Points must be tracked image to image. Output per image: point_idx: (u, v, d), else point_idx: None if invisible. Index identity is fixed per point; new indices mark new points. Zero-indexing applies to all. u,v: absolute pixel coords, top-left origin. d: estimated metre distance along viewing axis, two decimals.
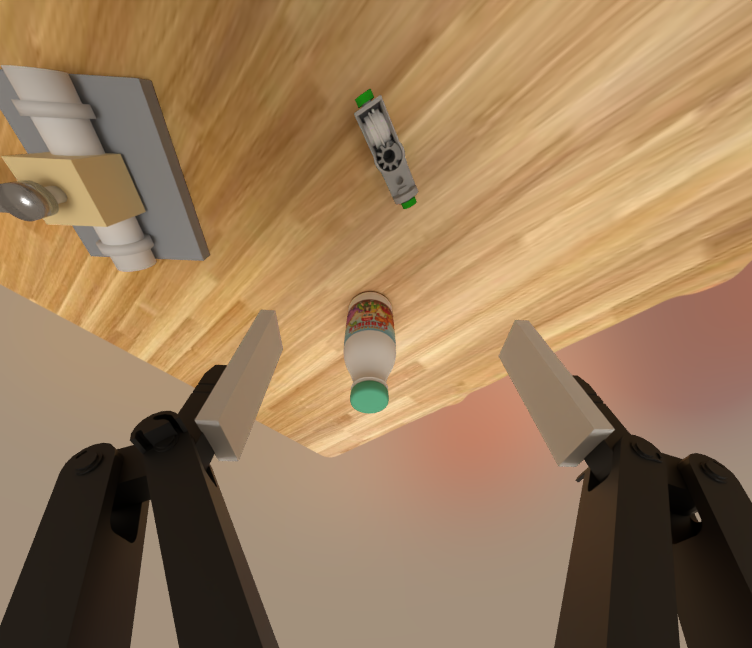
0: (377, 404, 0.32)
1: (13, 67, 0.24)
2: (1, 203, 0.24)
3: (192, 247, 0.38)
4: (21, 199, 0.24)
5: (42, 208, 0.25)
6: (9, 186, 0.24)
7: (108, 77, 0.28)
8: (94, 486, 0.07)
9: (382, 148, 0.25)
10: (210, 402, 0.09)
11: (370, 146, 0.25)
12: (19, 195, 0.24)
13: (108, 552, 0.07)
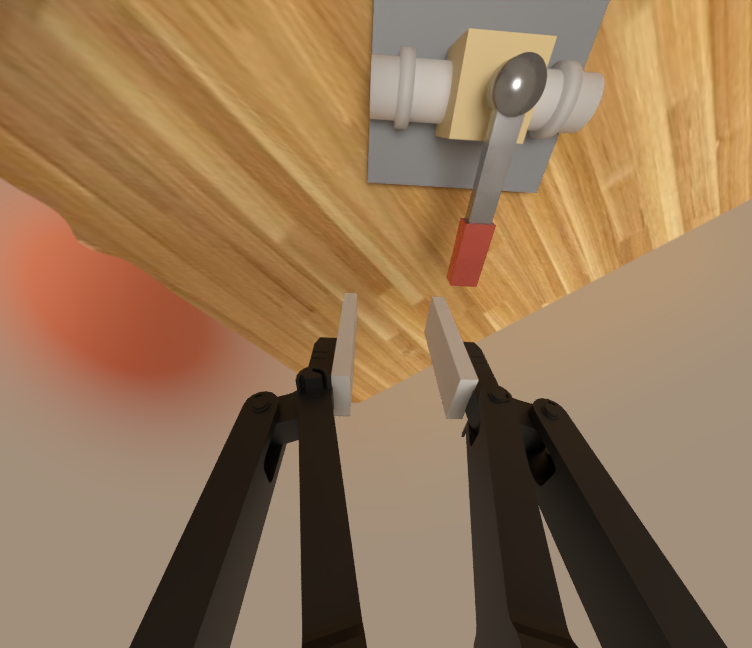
0: None
1: (372, 84, 0.22)
2: (514, 113, 0.19)
3: None
4: (520, 70, 0.17)
5: None
6: (502, 77, 0.17)
7: (374, 14, 0.23)
8: (261, 426, 0.09)
9: None
10: (337, 363, 0.11)
11: None
12: (515, 69, 0.17)
13: (258, 485, 0.08)
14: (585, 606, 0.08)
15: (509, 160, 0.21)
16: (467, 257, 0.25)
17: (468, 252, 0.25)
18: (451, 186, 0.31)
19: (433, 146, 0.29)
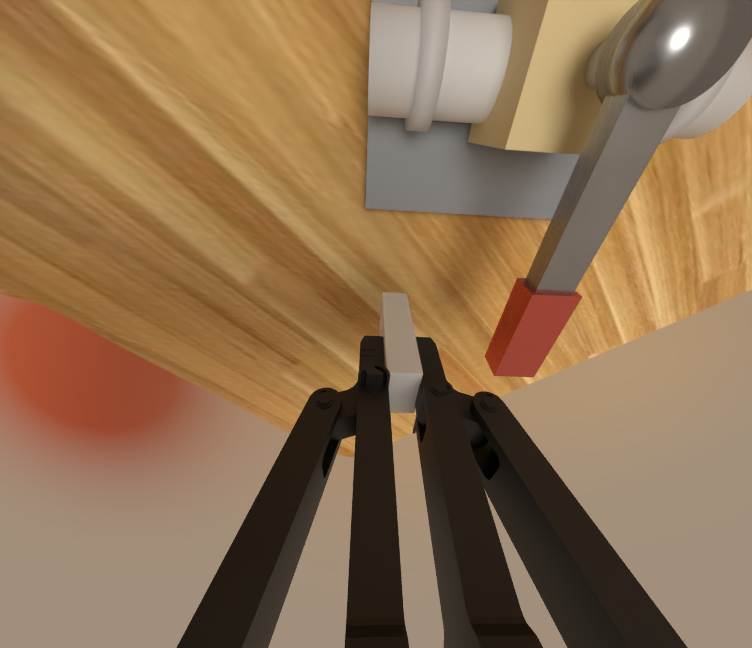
0: None
1: (371, 54, 0.13)
2: (666, 102, 0.09)
3: None
4: (705, 4, 0.08)
5: None
6: (660, 21, 0.08)
7: None
8: (324, 422, 0.09)
9: None
10: (390, 360, 0.12)
11: None
12: (695, 1, 0.08)
13: (316, 479, 0.08)
14: (541, 593, 0.08)
15: (628, 192, 0.11)
16: (525, 340, 0.15)
17: (529, 334, 0.15)
18: (486, 214, 0.22)
19: (463, 157, 0.19)
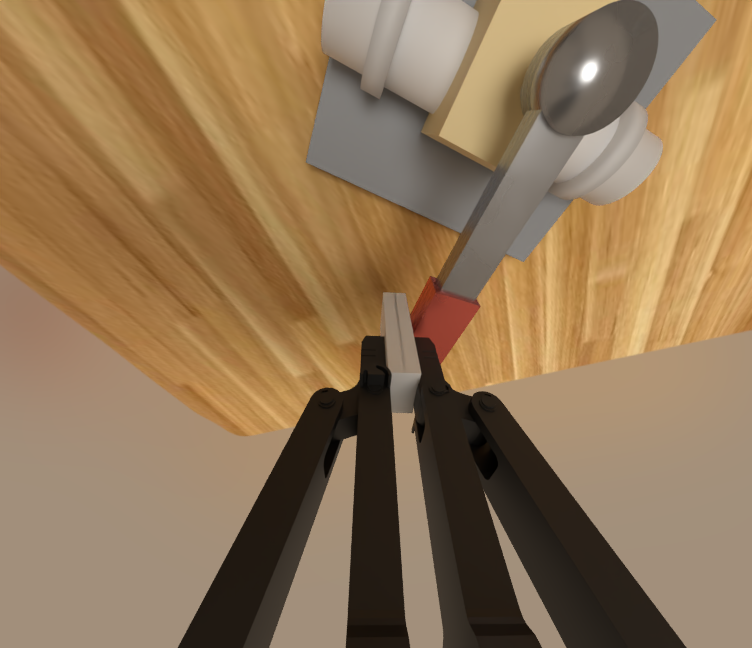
0: None
1: None
2: (568, 127, 0.09)
3: (678, 21, 0.15)
4: (610, 39, 0.08)
5: None
6: (572, 40, 0.08)
7: None
8: (326, 422, 0.09)
9: None
10: (391, 360, 0.12)
11: None
12: (602, 33, 0.08)
13: (317, 479, 0.08)
14: (539, 592, 0.08)
15: (531, 211, 0.11)
16: None
17: (429, 333, 0.15)
18: (424, 214, 0.22)
19: (415, 148, 0.19)
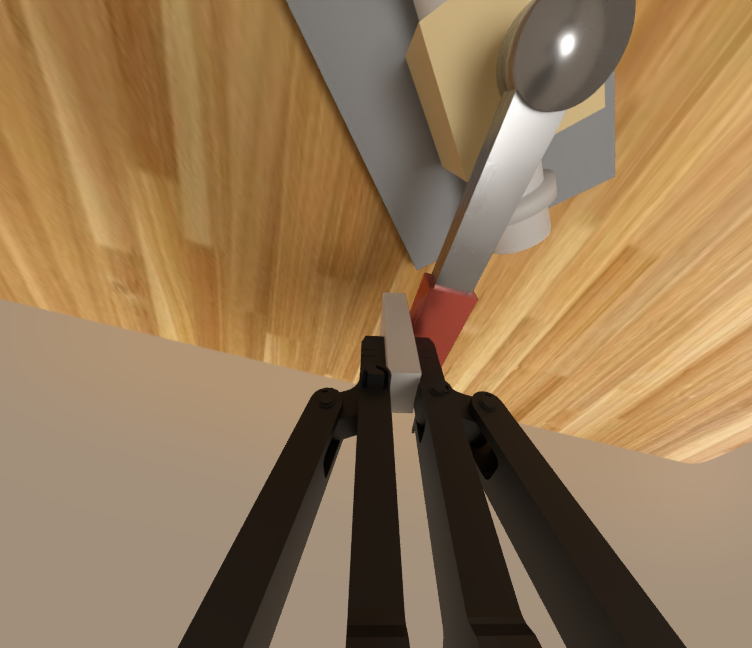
0: None
1: None
2: (547, 103, 0.09)
3: (601, 155, 0.19)
4: (580, 5, 0.08)
5: None
6: (539, 12, 0.08)
7: None
8: (325, 422, 0.09)
9: None
10: (391, 360, 0.12)
11: None
12: None
13: (317, 479, 0.08)
14: (540, 593, 0.08)
15: (519, 196, 0.11)
16: None
17: (428, 330, 0.15)
18: (361, 152, 0.19)
19: (391, 70, 0.17)
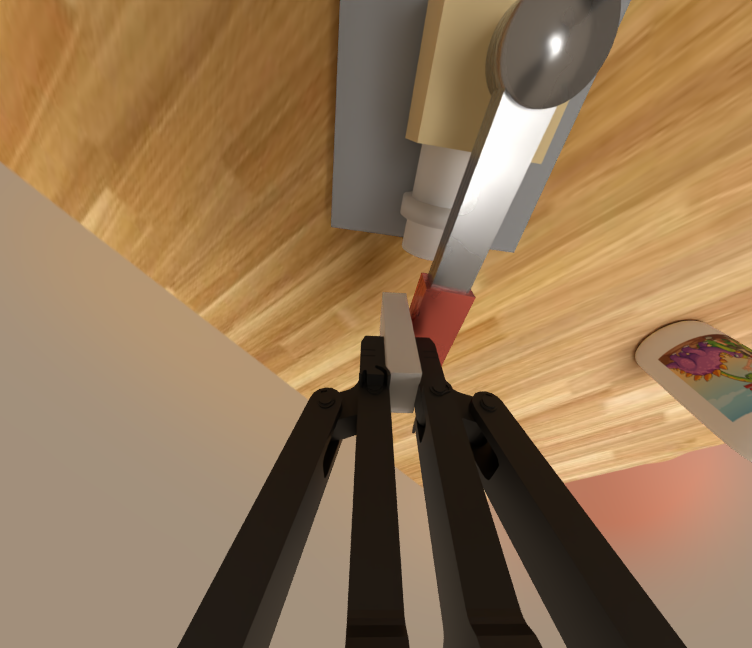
0: None
1: None
2: (537, 101, 0.09)
3: (514, 228, 0.22)
4: (565, 2, 0.08)
5: None
6: (524, 11, 0.08)
7: None
8: (325, 422, 0.09)
9: None
10: (391, 360, 0.12)
11: None
12: None
13: (316, 479, 0.08)
14: (540, 593, 0.08)
15: (513, 193, 0.11)
16: (424, 336, 0.15)
17: (427, 330, 0.15)
18: (339, 55, 0.16)
19: None
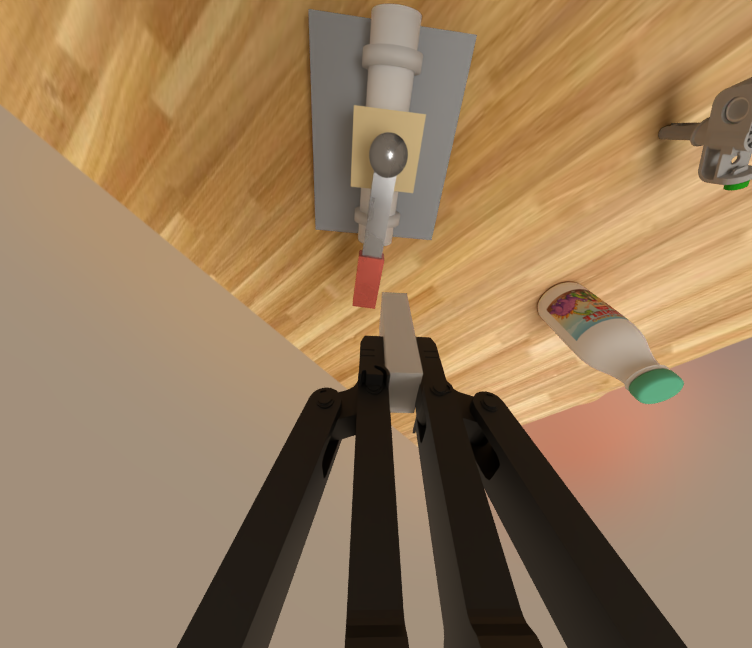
0: (668, 394, 0.30)
1: (400, 7, 0.22)
2: (386, 175, 0.23)
3: (428, 225, 0.36)
4: (385, 145, 0.22)
5: (397, 135, 0.22)
6: (372, 147, 0.22)
7: (445, 31, 0.26)
8: (324, 422, 0.09)
9: None
10: (390, 360, 0.12)
11: None
12: (381, 143, 0.22)
13: (316, 479, 0.08)
14: (541, 593, 0.08)
15: (389, 210, 0.25)
16: (363, 283, 0.29)
17: (364, 279, 0.29)
18: (313, 137, 0.30)
19: (347, 110, 0.29)
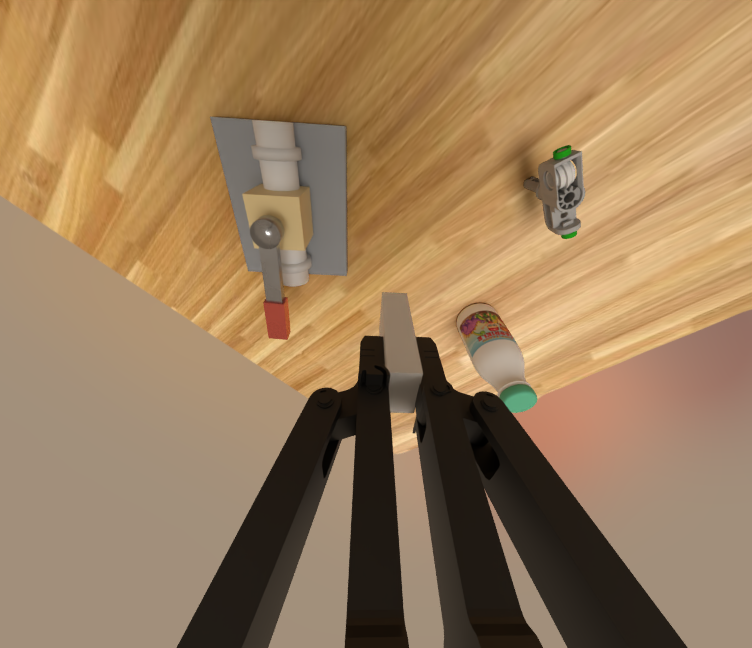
0: (526, 404, 0.37)
1: (268, 122, 0.29)
2: (266, 247, 0.30)
3: (340, 264, 0.43)
4: (260, 228, 0.29)
5: (269, 220, 0.29)
6: (251, 230, 0.29)
7: (320, 125, 0.32)
8: (324, 422, 0.09)
9: (566, 191, 0.30)
10: (390, 360, 0.12)
11: (557, 189, 0.30)
12: (257, 227, 0.29)
13: (315, 479, 0.08)
14: (541, 593, 0.08)
15: (277, 269, 0.32)
16: (272, 321, 0.36)
17: (272, 319, 0.36)
18: (232, 204, 0.38)
19: (255, 183, 0.36)
